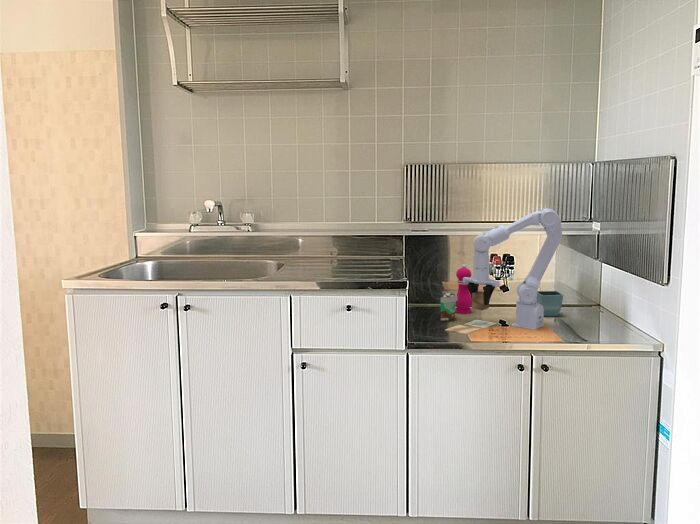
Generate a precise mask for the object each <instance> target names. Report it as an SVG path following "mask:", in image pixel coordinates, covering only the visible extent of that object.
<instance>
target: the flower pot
mask: <svg viewBox="0 0 700 524" xmlns="http://www.w3.org/2000/svg"><path fill="white" fill-rule="evenodd" d="M563 299H564V294H562V293H561V292H559V291H558V290H537V298H536V301H537V303H538V304H541V305H543V308H544V317H557V316H558V315H559V313H560V311H561V310H562V307H563V306H562V305H563Z"/></svg>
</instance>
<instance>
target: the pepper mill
mask: <svg viewBox="0 0 700 524" xmlns="http://www.w3.org/2000/svg"><path fill="white" fill-rule="evenodd" d="M464 277H472V271H471V270H470V269H469V268H467V265H466V264H465V263H463V264H461V267H460V268H459V269H457V270H456V278H457V280H456V281H457V284H458V290H457V293H456V295H457V298H458V300H457V301H456V307H455V314H458V315H469V314H471V313H472V298H471V295H470V292H469V290H468V288H467V285H468V283H463V278H464Z"/></svg>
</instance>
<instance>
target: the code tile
mask: <svg viewBox="0 0 700 524" xmlns="http://www.w3.org/2000/svg"><path fill="white" fill-rule="evenodd" d="M493 325H497V323H496V322H491V321H486V320H480V319H473V320H470V321H469V322H465V323H464V326H470V327H475V328H480V329H482V328H483V329H486V328H489V327H491V326H493Z"/></svg>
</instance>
